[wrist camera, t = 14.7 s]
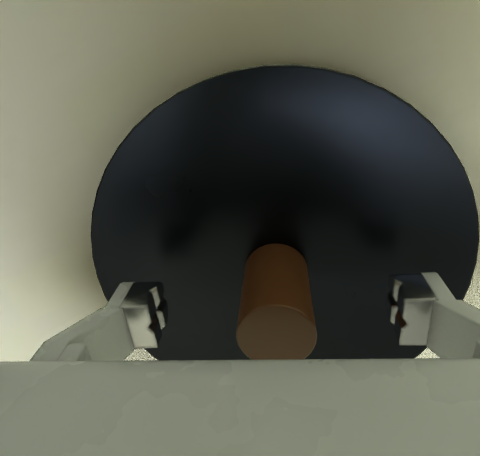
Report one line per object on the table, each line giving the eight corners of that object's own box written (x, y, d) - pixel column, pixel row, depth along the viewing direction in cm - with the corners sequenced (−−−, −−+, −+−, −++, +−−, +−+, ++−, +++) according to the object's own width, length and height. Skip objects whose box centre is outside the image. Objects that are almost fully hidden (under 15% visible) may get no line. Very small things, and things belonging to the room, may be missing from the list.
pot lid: (142, 382, 21) (104, 479, 16) (56, 84, 14) (-50, 105, 10) (438, 382, 19) (490, 490, 15) (502, 40, 12) (637, 40, 8)
